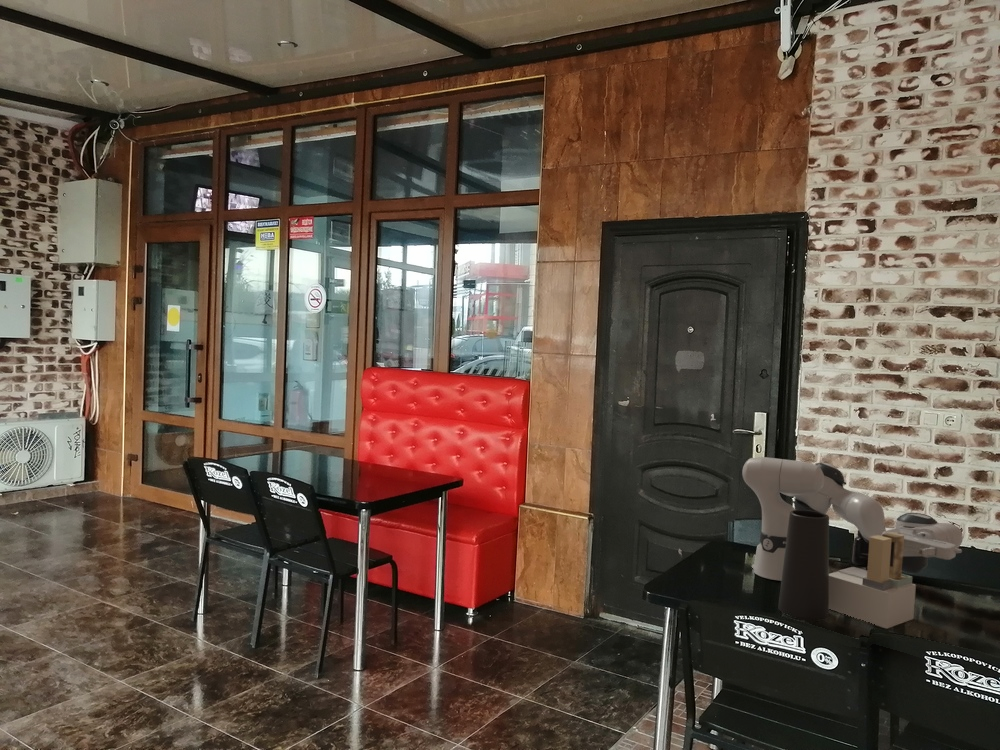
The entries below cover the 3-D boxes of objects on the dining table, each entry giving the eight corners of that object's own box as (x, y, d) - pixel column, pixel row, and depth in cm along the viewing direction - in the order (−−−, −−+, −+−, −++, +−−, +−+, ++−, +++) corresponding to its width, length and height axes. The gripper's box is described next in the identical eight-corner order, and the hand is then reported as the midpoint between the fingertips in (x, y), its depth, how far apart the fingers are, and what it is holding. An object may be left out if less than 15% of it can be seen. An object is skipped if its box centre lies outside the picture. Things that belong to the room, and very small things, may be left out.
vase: (769, 610, 234) (775, 512, 232) (791, 600, 243) (797, 506, 242) (815, 624, 224) (822, 521, 222) (836, 613, 234) (842, 515, 232)
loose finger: (885, 576, 236) (888, 531, 236) (905, 582, 232) (909, 535, 231) (874, 579, 233) (877, 533, 232) (895, 585, 228) (898, 538, 227)
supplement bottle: (864, 567, 282) (866, 534, 281) (847, 562, 288) (850, 529, 288) (877, 565, 285) (879, 532, 285) (860, 560, 291) (863, 527, 291)
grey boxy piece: (850, 599, 247) (856, 522, 246) (913, 618, 232) (919, 536, 230) (823, 607, 238) (828, 527, 237) (886, 628, 223) (892, 543, 221)
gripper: (963, 561, 235) (941, 568, 227) (894, 544, 251) (871, 550, 243) (965, 539, 235) (942, 546, 226) (895, 524, 251) (872, 529, 243)
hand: (905, 548), depth 235 cm, fingers open, 8 cm apart
